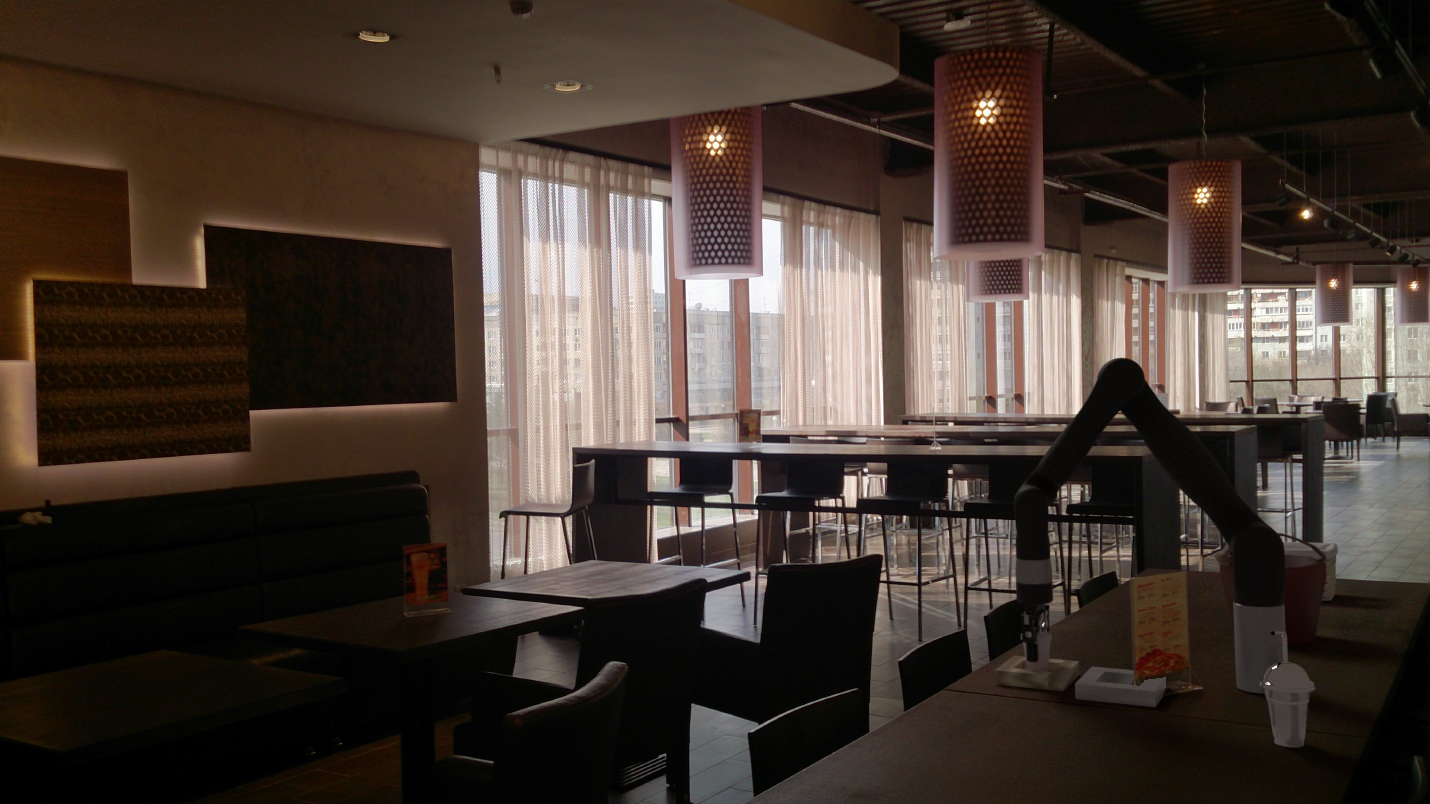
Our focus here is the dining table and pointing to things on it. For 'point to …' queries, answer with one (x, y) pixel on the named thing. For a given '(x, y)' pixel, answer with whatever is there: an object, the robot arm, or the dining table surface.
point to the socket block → (1037, 674)
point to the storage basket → (1326, 548)
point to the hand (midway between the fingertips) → (1037, 657)
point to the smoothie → (1040, 652)
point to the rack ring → (1118, 687)
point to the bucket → (1289, 591)
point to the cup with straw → (1287, 699)
